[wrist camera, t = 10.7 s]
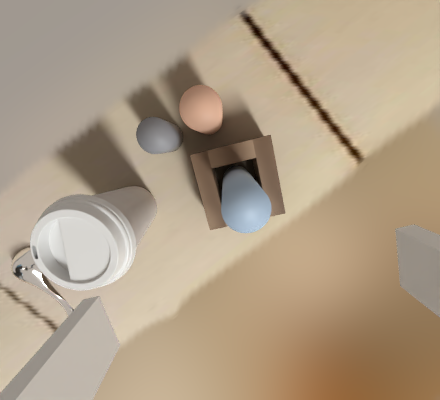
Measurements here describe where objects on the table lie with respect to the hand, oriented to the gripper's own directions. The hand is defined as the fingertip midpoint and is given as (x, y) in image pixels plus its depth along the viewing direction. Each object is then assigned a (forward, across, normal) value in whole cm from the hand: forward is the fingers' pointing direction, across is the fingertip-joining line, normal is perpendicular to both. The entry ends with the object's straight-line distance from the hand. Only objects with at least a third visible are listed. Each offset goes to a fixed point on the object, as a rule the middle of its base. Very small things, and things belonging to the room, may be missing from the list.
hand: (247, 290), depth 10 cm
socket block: (+25, +1, +1) cm, 25 cm away
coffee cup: (+25, -14, 0) cm, 29 cm away
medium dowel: (+25, -1, +10) cm, 27 cm away
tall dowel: (+25, +1, +1) cm, 25 cm away
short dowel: (+25, -7, +9) cm, 27 cm away
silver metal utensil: (+26, -32, -11) cm, 43 cm away
